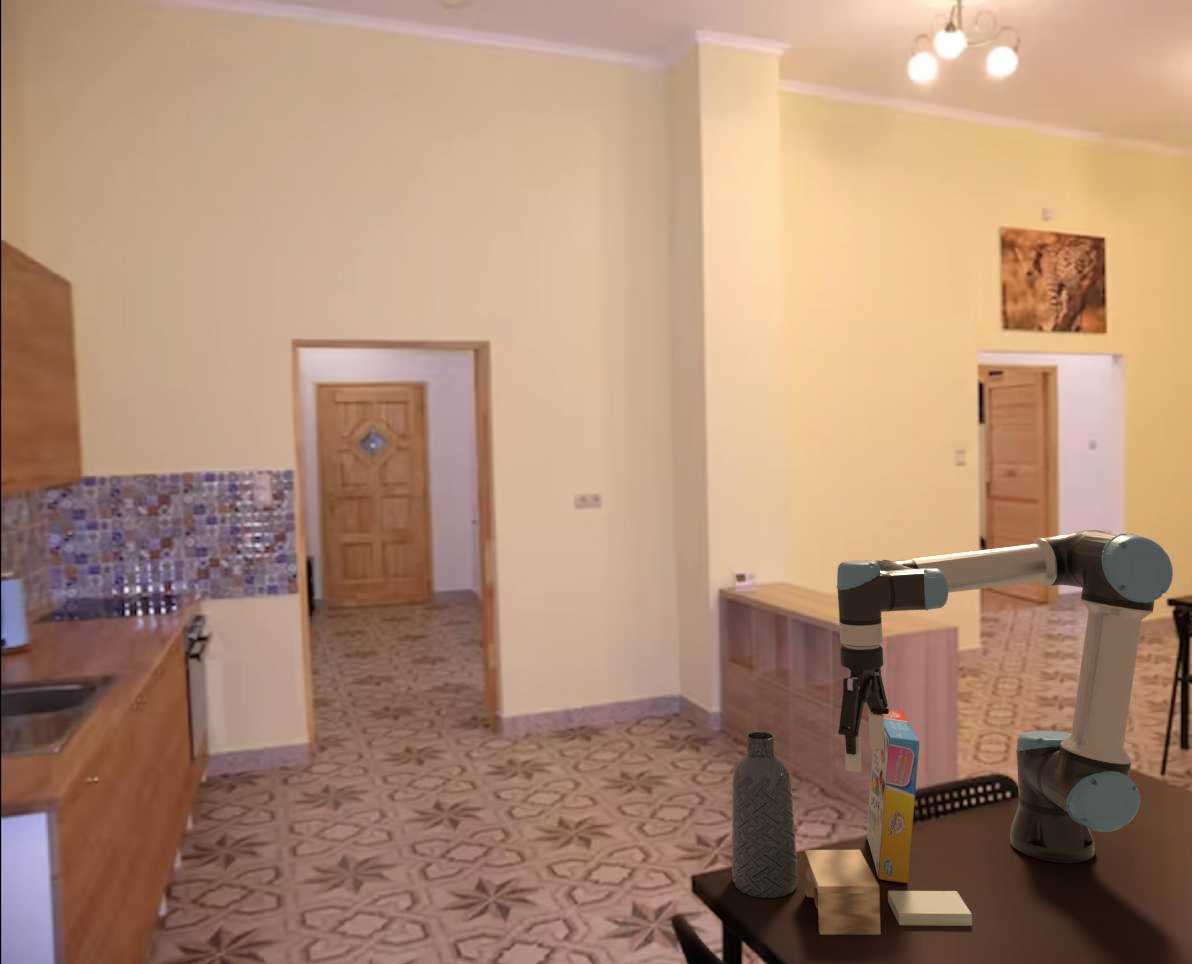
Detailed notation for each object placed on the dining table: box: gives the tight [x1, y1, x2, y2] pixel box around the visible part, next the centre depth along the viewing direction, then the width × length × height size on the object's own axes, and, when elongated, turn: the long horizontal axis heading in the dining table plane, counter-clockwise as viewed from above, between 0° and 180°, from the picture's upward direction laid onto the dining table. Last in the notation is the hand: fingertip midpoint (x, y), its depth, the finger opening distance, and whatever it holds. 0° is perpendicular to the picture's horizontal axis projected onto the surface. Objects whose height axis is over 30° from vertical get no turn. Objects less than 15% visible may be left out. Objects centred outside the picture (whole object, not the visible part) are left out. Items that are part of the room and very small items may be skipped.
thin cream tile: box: [887, 890, 973, 927], centre depth 155 cm, size 12×8×2 cm, turn 85°
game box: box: [866, 709, 920, 884], centre depth 176 cm, size 21×6×27 cm, turn 169°
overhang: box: [804, 849, 882, 936], centre depth 156 cm, size 10×14×8 cm
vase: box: [731, 731, 799, 899], centre depth 168 cm, size 12×12×28 cm
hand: (866, 759), depth 164 cm, fingers open, 13 cm apart
